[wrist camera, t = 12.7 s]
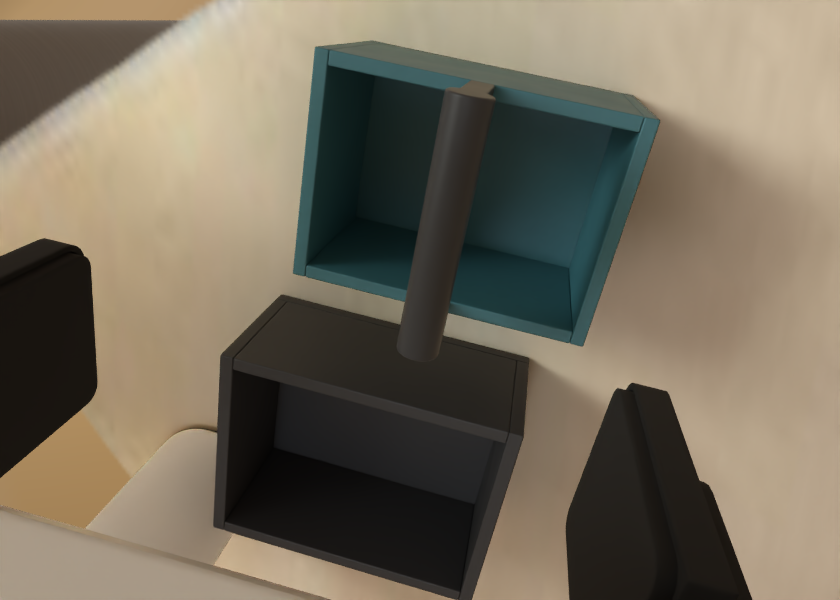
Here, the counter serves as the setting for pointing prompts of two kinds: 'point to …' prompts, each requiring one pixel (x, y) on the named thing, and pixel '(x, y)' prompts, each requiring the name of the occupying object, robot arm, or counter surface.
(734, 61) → the counter surface
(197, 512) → the can
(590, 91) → the top bin
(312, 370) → the lower bin
